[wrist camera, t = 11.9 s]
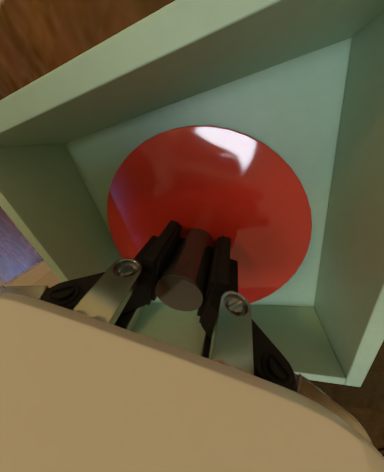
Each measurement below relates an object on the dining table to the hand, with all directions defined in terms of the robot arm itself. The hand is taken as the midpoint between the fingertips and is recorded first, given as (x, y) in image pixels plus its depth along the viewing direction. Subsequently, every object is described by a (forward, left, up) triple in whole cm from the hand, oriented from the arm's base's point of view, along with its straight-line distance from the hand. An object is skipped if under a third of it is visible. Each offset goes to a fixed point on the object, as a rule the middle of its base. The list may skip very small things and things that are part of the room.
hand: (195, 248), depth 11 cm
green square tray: (0, 0, -3) cm, 3 cm away
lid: (0, 0, -1) cm, 1 cm away
